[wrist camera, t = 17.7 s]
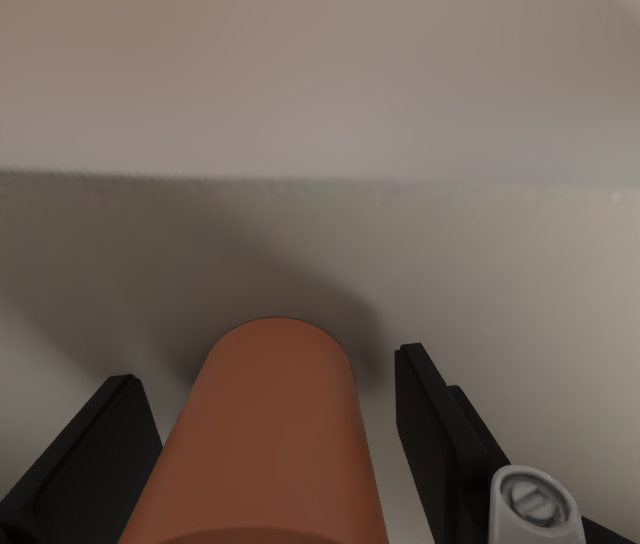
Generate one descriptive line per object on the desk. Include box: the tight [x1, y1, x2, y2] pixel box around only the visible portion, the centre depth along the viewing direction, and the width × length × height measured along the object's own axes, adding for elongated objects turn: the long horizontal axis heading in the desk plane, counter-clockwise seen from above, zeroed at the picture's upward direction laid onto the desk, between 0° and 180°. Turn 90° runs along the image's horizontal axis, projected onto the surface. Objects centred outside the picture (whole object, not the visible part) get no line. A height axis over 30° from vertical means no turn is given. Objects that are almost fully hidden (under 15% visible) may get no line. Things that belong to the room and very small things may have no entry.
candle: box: [117, 317, 389, 544], centre depth 8 cm, size 5×5×6 cm
